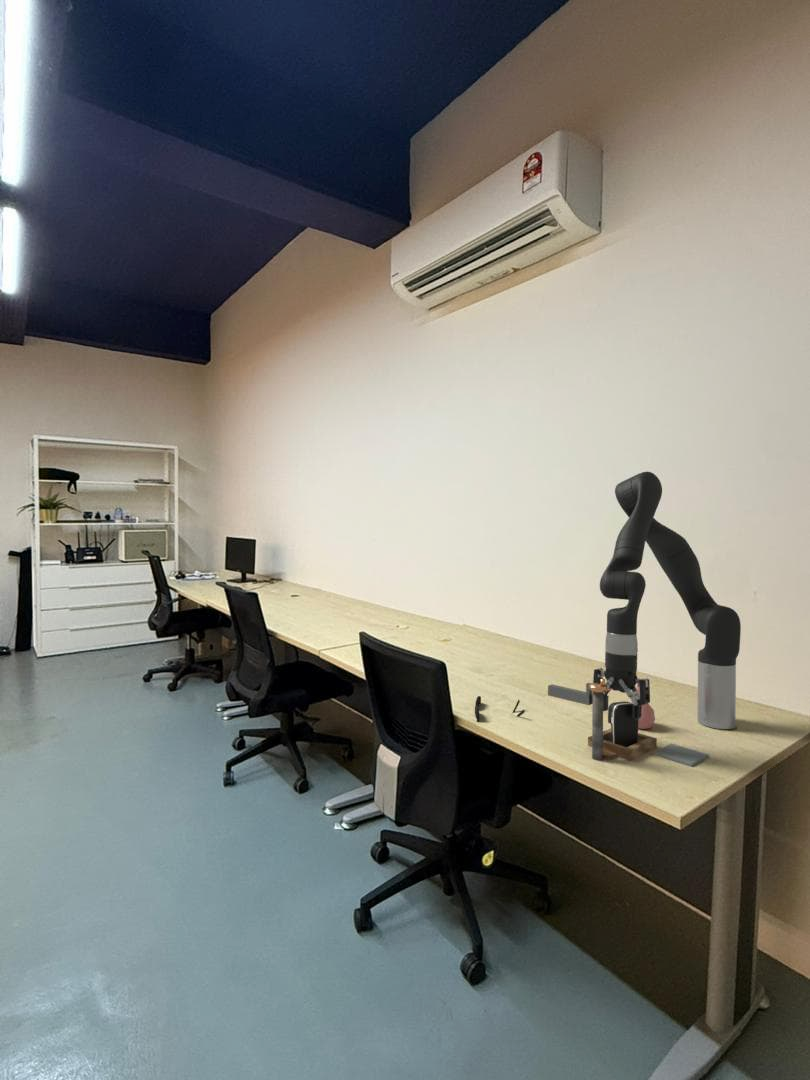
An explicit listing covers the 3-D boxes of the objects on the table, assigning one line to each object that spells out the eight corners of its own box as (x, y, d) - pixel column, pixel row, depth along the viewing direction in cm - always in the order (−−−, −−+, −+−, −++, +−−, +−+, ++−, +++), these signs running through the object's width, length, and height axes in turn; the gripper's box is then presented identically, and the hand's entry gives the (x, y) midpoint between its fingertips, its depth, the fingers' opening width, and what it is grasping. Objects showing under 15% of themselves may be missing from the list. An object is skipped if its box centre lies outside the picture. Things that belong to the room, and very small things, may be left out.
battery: (629, 743, 141) (629, 699, 141) (639, 749, 137) (639, 703, 137) (605, 746, 139) (605, 701, 139) (615, 752, 135) (615, 705, 135)
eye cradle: (616, 735, 146) (616, 675, 146) (656, 748, 138) (657, 684, 138) (574, 752, 135) (574, 687, 135) (616, 767, 126) (616, 697, 126)
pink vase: (652, 726, 154) (653, 683, 154) (657, 735, 147) (657, 690, 147) (623, 723, 156) (623, 681, 156) (626, 732, 149) (626, 688, 149)
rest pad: (671, 745, 139) (671, 743, 139) (708, 757, 132) (708, 754, 132) (653, 754, 134) (653, 752, 134) (691, 766, 127) (691, 764, 127)
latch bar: (545, 696, 139) (545, 670, 139) (554, 693, 142) (554, 667, 142) (601, 709, 128) (601, 681, 128) (609, 706, 131) (609, 678, 131)
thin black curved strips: (525, 731, 151) (525, 712, 151) (472, 727, 153) (472, 709, 153) (522, 711, 167) (522, 695, 167) (474, 709, 170) (475, 692, 170)
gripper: (587, 647, 142) (586, 710, 142) (640, 657, 130) (638, 726, 130) (604, 644, 146) (603, 705, 146) (656, 654, 135) (655, 720, 135)
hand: (619, 715), depth 138 cm, fingers open, 8 cm apart
